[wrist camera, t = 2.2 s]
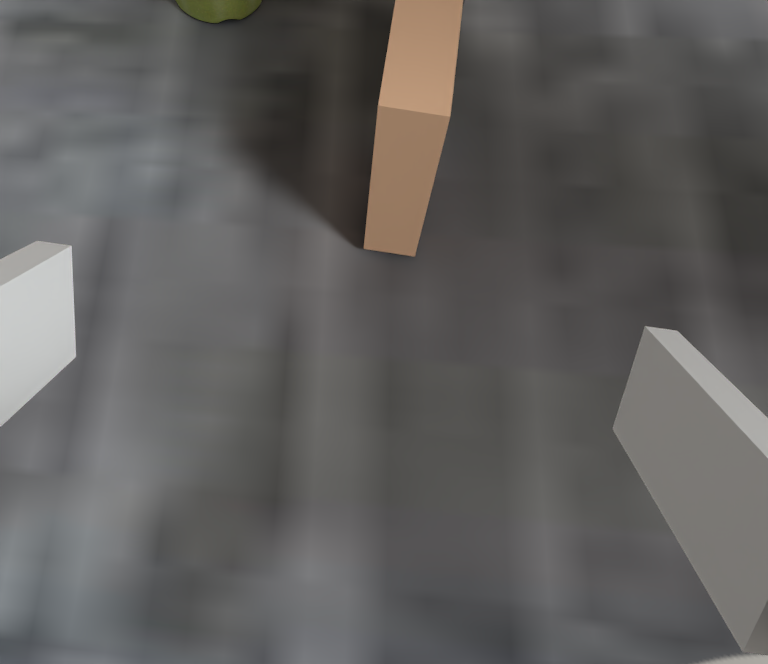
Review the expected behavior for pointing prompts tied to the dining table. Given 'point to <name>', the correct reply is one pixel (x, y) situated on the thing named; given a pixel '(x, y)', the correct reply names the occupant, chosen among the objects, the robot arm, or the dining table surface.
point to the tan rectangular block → (411, 121)
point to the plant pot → (218, 9)
